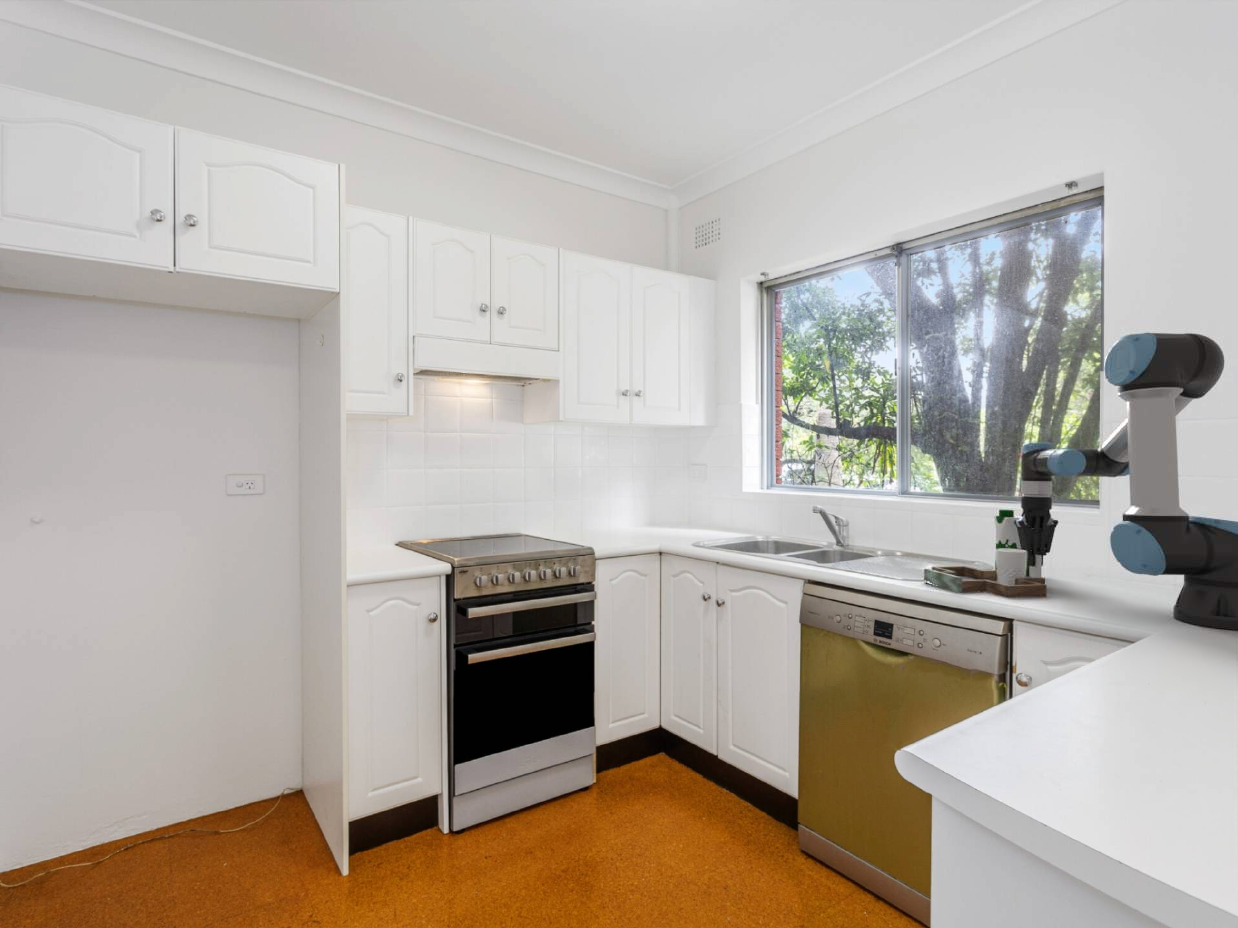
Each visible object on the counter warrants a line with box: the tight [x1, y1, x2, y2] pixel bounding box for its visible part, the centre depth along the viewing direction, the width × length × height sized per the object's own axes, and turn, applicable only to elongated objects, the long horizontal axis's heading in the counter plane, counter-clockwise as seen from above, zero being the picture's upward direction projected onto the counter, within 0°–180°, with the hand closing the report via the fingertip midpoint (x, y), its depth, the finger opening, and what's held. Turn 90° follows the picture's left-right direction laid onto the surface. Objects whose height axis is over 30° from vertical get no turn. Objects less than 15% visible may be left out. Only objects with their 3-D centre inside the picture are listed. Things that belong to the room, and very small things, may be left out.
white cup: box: [995, 548, 1028, 585], centre depth 192 cm, size 8×8×10 cm
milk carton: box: [993, 509, 1030, 577], centre depth 211 cm, size 9×9×20 cm
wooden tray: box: [923, 565, 1047, 599], centre depth 191 cm, size 31×27×4 cm
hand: (1035, 577), depth 194 cm, fingers closed
